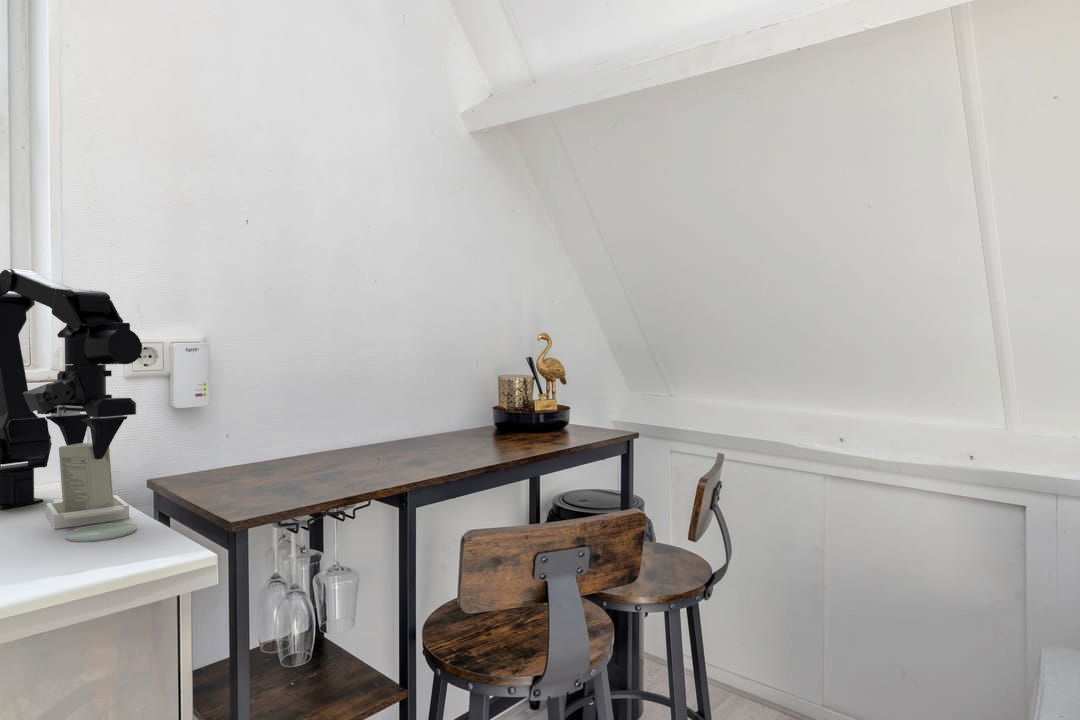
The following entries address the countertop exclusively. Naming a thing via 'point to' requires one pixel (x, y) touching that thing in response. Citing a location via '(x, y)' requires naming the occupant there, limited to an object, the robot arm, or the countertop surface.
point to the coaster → (100, 532)
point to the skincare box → (85, 478)
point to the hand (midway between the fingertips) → (86, 457)
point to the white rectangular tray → (85, 514)
